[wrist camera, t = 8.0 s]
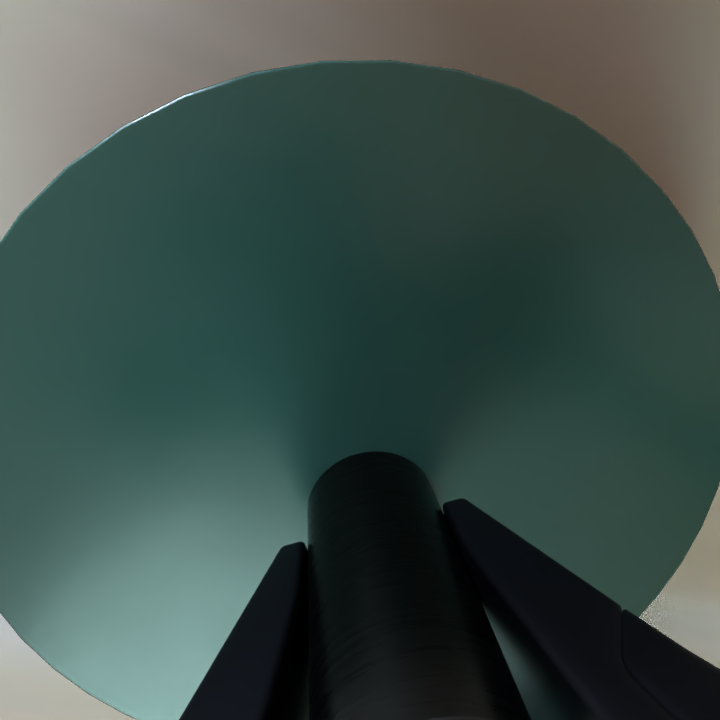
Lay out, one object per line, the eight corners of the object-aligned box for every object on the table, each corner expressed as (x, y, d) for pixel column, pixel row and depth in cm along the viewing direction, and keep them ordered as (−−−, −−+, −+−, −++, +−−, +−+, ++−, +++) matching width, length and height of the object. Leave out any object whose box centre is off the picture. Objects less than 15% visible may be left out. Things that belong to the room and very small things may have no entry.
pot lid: (710, -24, 8) (1743, -567, 2) (686, 625, 14) (961, 940, 8) (-215, 202, 8) (-1770, 246, 2) (158, 772, 13) (48, 1210, 8)
